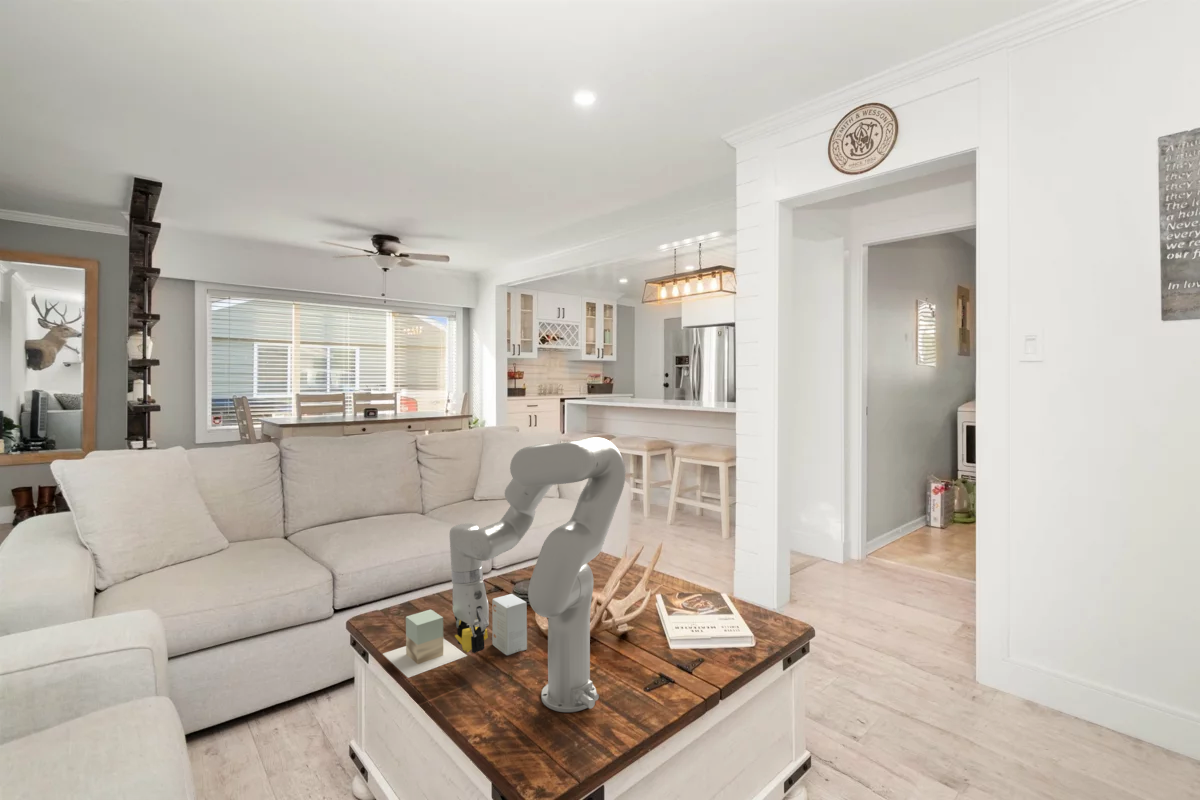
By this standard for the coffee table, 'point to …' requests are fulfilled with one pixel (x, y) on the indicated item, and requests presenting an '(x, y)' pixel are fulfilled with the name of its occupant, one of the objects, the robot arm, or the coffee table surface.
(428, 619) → the tower top
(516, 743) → the coffee table surface
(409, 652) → the tower bottom
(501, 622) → the small box
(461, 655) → the felt pad
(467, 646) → the teapot
